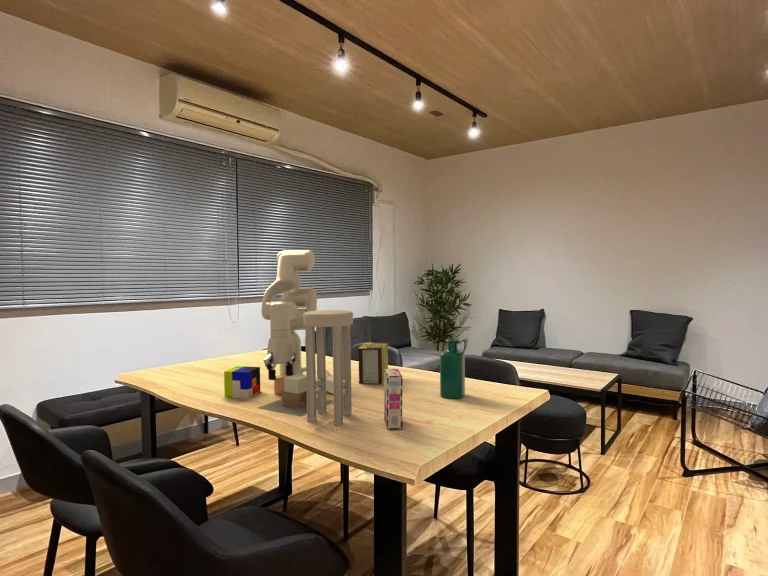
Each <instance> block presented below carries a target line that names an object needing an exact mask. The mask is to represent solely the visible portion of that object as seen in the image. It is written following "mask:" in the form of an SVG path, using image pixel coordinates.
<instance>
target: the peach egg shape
mask: <svg viewBox="0 0 768 576" xmlns="http://www.w3.org/2000/svg"><path fill="white" fill-rule="evenodd" d="M285 377H289V376H288V375H280V374H278V375H276V380H273V382H274V383H273V386H274V388H273V389H274V391H273V392H274V395H276V396H282V392H283V391H284V378H285Z"/></svg>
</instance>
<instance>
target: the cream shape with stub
mask: <svg viewBox="0 0 768 576" xmlns="http://www.w3.org/2000/svg"><path fill="white" fill-rule="evenodd" d="M327 392H329V393H330V394H332V395H334V387H333V375H332V374H331V372H330V371H329V370H328V369H326V393H327Z"/></svg>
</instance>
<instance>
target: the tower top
mask: <svg viewBox="0 0 768 576" xmlns="http://www.w3.org/2000/svg"><path fill="white" fill-rule="evenodd" d="M305 391H307V384H306V374H303V375H299V374H295V375H292V376H289V377H285V378H284V392H289V393H295V394H300V393H303V392H305Z"/></svg>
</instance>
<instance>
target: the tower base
mask: <svg viewBox="0 0 768 576" xmlns="http://www.w3.org/2000/svg"><path fill="white" fill-rule="evenodd" d="M281 396H282V397H281V399H283V406H287V407H292V408H298V409H299V408H302V407H304V406H307V391H305V392H303V393H300V394H295V393H289V392H284V391H283V392H282V395H281Z"/></svg>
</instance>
